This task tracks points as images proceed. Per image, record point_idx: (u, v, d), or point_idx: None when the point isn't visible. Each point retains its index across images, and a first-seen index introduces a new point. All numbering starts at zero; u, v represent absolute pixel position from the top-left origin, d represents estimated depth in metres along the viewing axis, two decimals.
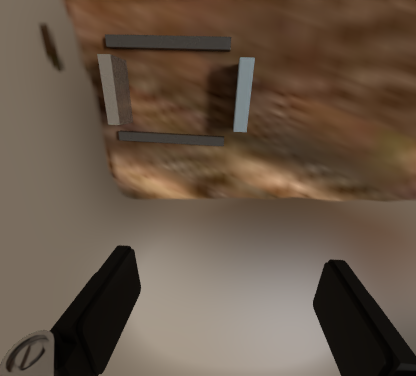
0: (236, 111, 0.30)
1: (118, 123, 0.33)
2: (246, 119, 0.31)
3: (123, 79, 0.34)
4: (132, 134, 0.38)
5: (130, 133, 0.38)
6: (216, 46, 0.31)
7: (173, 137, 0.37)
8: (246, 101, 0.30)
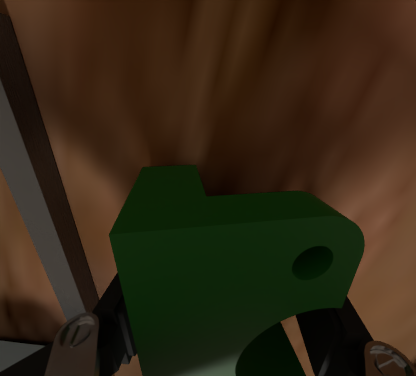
0: None
1: None
2: None
3: None
4: None
5: None
6: None
7: None
8: None
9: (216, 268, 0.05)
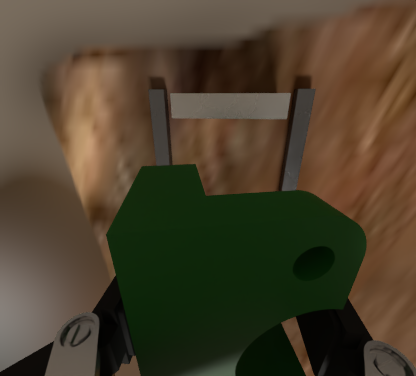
0: None
1: (174, 115, 0.18)
2: None
3: None
4: (162, 117, 0.22)
5: (163, 113, 0.21)
6: None
7: None
8: None
9: (216, 269, 0.04)
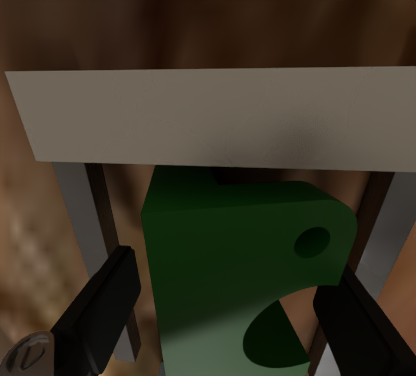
0: None
1: (42, 153, 0.05)
2: None
3: None
4: None
5: None
6: (323, 367, 0.14)
7: None
8: None
9: (229, 245, 0.05)
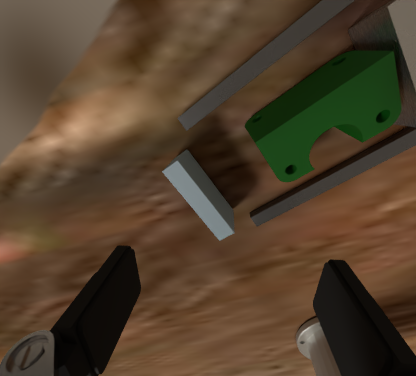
0: (194, 184, 0.20)
1: (391, 8, 0.14)
2: (175, 185, 0.20)
3: None
4: (343, 3, 0.17)
5: (348, 1, 0.17)
6: (266, 211, 0.25)
7: (258, 67, 0.19)
8: (193, 201, 0.21)
9: (380, 88, 0.15)
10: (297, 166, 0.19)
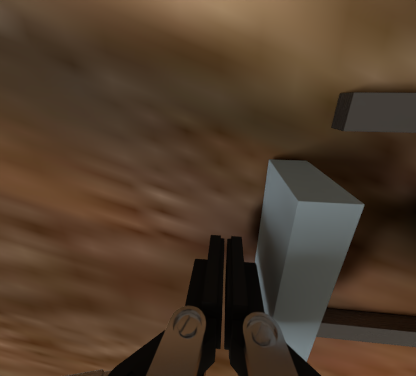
0: (333, 274, 0.07)
1: None
2: (293, 248, 0.07)
3: None
4: None
5: None
6: (321, 326, 0.14)
7: None
8: (290, 298, 0.08)
9: None
10: None
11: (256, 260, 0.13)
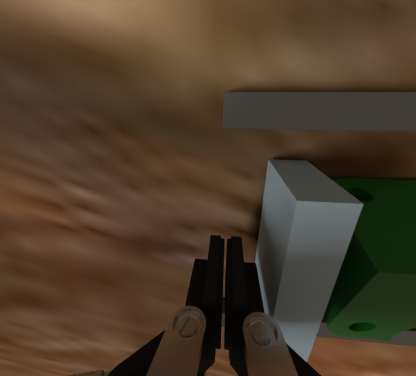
0: (333, 274, 0.07)
1: None
2: (293, 248, 0.07)
3: None
4: None
5: None
6: None
7: None
8: (290, 298, 0.08)
9: None
10: (376, 328, 0.09)
11: (256, 260, 0.13)
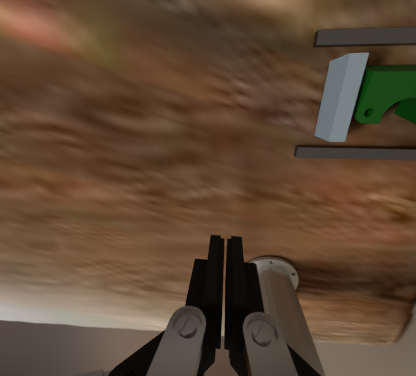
0: (359, 82, 0.24)
1: None
2: (347, 72, 0.23)
3: None
4: None
5: None
6: (311, 149, 0.31)
7: (395, 38, 0.25)
8: (344, 95, 0.24)
9: None
10: (374, 112, 0.25)
11: (319, 114, 0.30)
